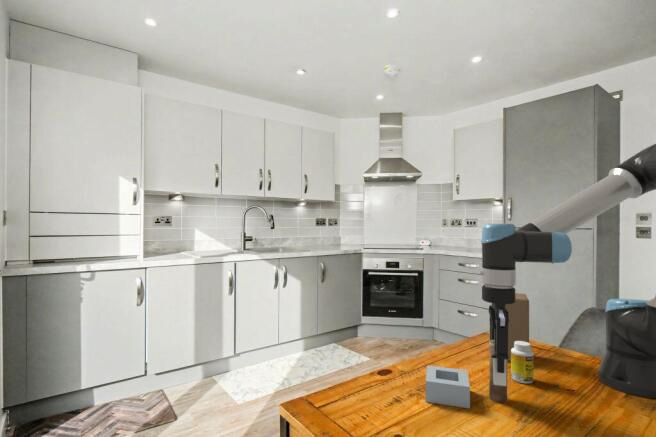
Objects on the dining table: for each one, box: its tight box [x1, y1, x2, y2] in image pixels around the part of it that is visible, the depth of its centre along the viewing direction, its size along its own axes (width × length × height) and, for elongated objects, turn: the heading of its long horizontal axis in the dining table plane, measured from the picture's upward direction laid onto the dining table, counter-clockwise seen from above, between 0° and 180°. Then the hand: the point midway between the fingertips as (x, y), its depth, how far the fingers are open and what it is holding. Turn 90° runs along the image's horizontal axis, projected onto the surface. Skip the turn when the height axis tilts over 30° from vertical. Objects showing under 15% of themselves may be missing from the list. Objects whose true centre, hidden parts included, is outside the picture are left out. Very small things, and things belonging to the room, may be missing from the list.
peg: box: [488, 339, 508, 404], centre depth 88 cm, size 4×4×14 cm
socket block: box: [425, 364, 471, 409], centre depth 89 cm, size 10×10×5 cm
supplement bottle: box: [510, 341, 535, 385], centre depth 99 cm, size 6×6×10 cm
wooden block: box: [505, 292, 530, 363], centre depth 116 cm, size 10×10×20 cm
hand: (498, 380), depth 88 cm, fingers open, 4 cm apart
